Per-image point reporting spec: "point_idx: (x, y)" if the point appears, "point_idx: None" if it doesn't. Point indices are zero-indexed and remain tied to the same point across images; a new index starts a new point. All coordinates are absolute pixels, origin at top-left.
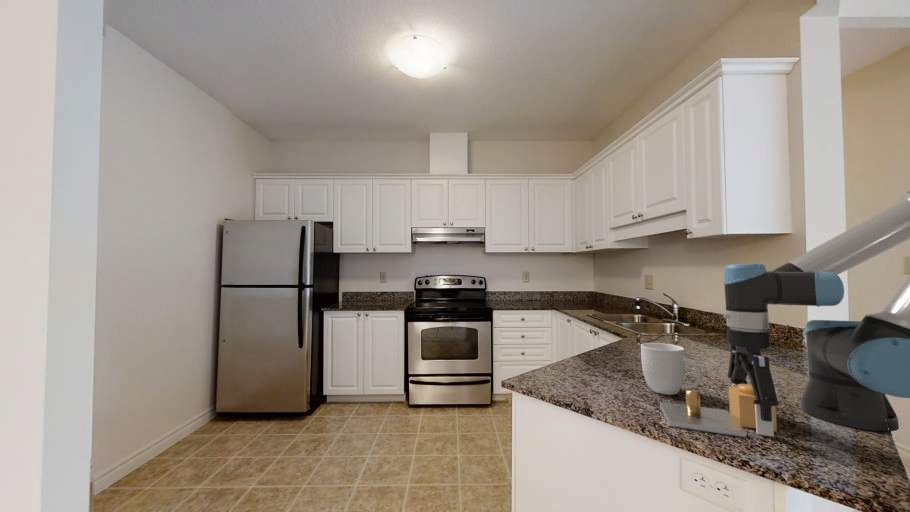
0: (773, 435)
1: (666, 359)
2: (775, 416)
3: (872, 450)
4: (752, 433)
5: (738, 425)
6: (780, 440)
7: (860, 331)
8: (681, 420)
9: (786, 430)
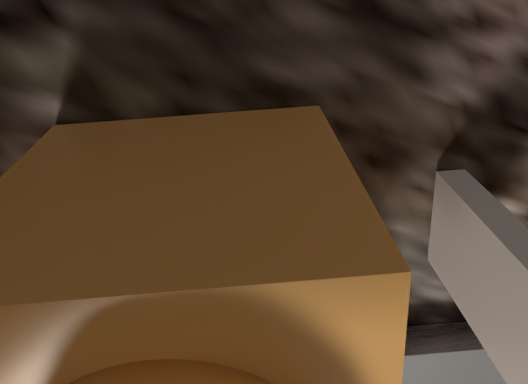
0: (465, 175)
1: None
2: (345, 158)
3: None
4: (423, 273)
5: (425, 364)
6: (498, 138)
7: None
8: None
9: (253, 14)
